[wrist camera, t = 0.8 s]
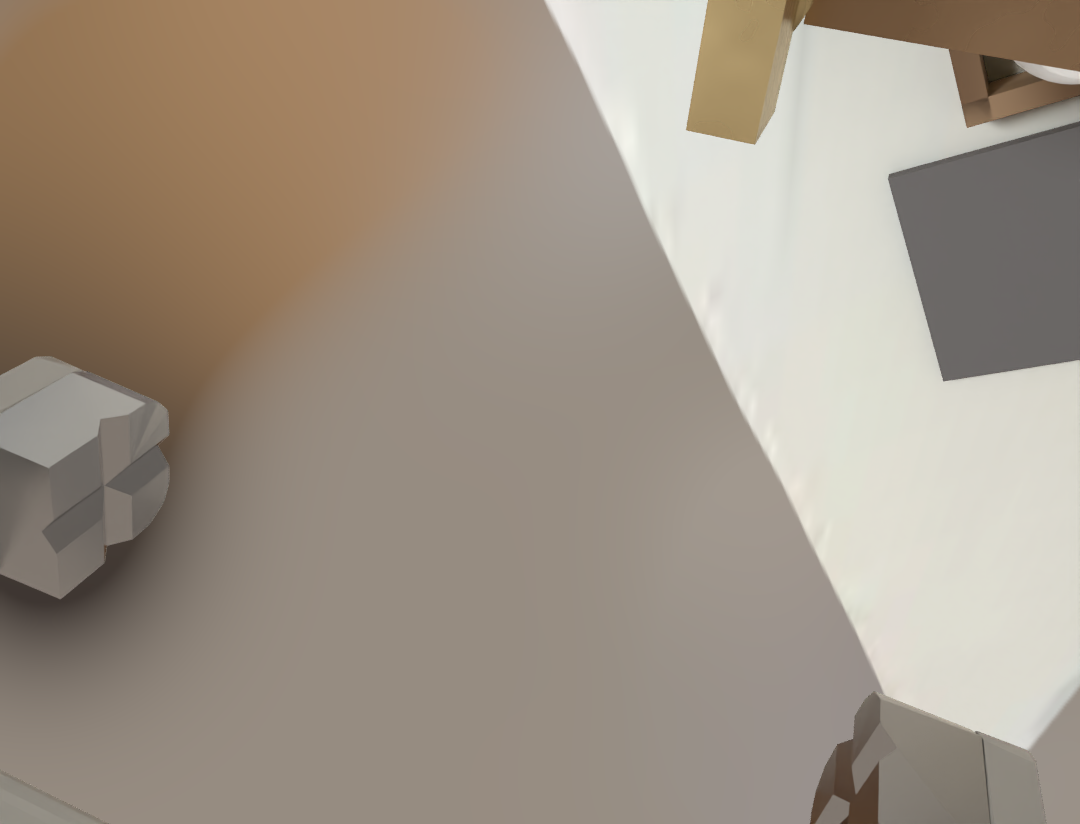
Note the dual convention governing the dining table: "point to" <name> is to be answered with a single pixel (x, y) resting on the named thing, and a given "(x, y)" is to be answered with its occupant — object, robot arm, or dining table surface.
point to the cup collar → (1001, 90)
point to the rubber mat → (997, 252)
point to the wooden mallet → (866, 8)
